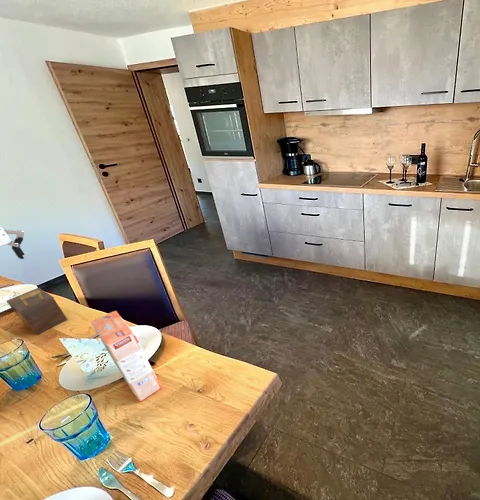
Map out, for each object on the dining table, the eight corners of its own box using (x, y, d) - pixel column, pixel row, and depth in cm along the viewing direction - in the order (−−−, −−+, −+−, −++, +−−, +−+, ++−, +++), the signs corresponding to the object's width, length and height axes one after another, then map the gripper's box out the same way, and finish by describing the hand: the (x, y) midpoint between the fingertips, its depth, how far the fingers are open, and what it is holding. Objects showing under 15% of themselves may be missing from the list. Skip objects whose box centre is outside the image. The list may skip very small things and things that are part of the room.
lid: (54, 298, 102) (47, 287, 100) (21, 313, 95) (12, 302, 93) (39, 289, 108) (32, 278, 105) (7, 302, 101) (-2, 291, 99)
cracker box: (163, 387, 80) (133, 331, 70) (139, 403, 76) (104, 346, 66) (145, 362, 88) (116, 308, 78) (122, 375, 84) (88, 321, 74)
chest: (67, 319, 107) (53, 297, 102) (37, 335, 101) (20, 312, 96) (53, 310, 113) (39, 289, 108) (24, 324, 106) (7, 302, 101)
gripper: (1, 203, 92) (32, 250, 100) (-88, 223, 78) (-44, 276, 87) (10, 206, 88) (41, 255, 96) (-82, 227, 75) (-37, 282, 83)
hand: (0, 264), depth 92 cm, fingers open, 9 cm apart
